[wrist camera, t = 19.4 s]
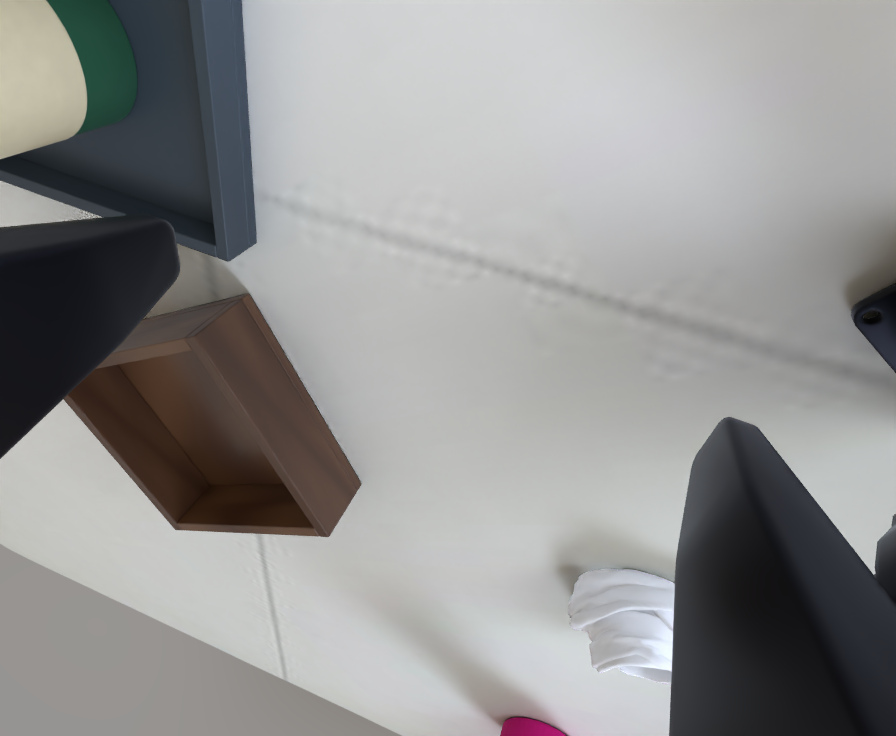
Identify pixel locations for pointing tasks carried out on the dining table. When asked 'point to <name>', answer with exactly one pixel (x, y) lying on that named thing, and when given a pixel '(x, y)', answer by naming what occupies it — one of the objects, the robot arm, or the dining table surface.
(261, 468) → the crate
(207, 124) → the tray
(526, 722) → the pepper mill
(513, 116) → the dining table surface
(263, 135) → the dining table surface
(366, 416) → the dining table surface
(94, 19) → the bottle
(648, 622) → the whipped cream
